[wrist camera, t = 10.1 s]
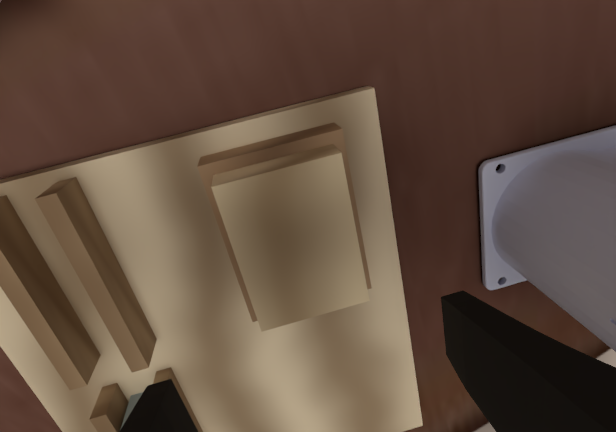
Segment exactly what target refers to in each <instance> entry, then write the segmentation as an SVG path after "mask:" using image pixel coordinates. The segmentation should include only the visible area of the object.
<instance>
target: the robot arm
mask: <svg viewBox="0 0 616 432" xmlns="http://www.w3.org/2000/svg"><path fill="white" fill-rule="evenodd" d="M499 164H501V167H500V169H499V170H498V171H496V167H497V166H498V165H499ZM478 175H479V200H480V226H481V251H482V277H483V285H484V286H485V287H486V288H487V289H488V290H495V289H499V288H502V287H505V286H509V285H512V284H516V283H519V282H523V281H526V280H528V281H529V282H531V283H532V284H533V285H534V286H535V287H537V288H538V289H539V290H540V291H542V292H543V293H544V294H545V295H547V296H548V297H549V298H550V299H551V300H553V301H554V302H555V303H556V304H558V305H559V306H560V307H561V308H563V309H564V310H565V311H566V312H567V313H569V314H570V315H571V316H572V317H574V318H575V319H576V320H577V321H579V322H580V323H581V324H582V325H583V326H585V327H586V328H587V329H588V330H590V331H591V332H592V333H593V334H595V335H596V336H597V337H598V338H599V339H601V340H602V341H603V342H604V343H606V344H607V345H608V346H609V347H611V348H612V349H613V350H614V351H616V125H615V126H611V127H607V128H604V129H600V130H596V131H593V132H589V133H585V134H582V135H578V136H574V137H571V138H567V139H563V140H559V141H556V142H552V143H548V144H545V145H541V146H537V147H534V148H530V149H526V150H523V151H519V152H515V153H512V154H508V155H504V156H500V157H497V158H493V159H489V160H486V161H484V162H483V163H482V164H481V165H480V167H479V171H478ZM500 278H502V279H501V280H499V279H500ZM498 280H499V281H498ZM441 301H442V312H443V323H444V334H445V345H446V355H447V356H448V358H449V360H450V362H451V364H452V366H453V367H454V369H455V371H456V373H457V375H458V376H459V378H460V380H461V382H462V383H463V385H464V387H465V388H466V390H467V392H468V393H469V394H470V396H471V397H472V399H473V400H474V401H475V403H476V404H477V406H478V407H479V408H480V410H481V411H482V413H483V414H484V415H485V417H486V418H487V420H488V421H489V422H490V424H491V425H492V426H493V428H494V429H495V431H496V432H616V368H615V367H613V366H611V365H609V364H606V363H604V362H601V361H599V360H597V359H595V358H592V357H590V356H588V355H586V354H584V353H582V352H579V351H577V350H575V349H573V348H571V347H569V346H566V345H564V344H562V343H560V342H558V341H556V340H554V339H552V338H550V337H548V336H546V335H544V334H542V333H540V332H538V331H536V330H534V329H532V328H530V327H529V326H527V325H525V324H523V323H521V322H519V321H517V320H515V319H514V318H512V317H510V316H508V315H506V314H504V313H503V312H501V311H499V310H497V309H495V308H494V307H492V306H490V305H488V304H486V303H485V302H483V301H481V300H479V299H477V298H476V297H474V296H472V295H470V294H468V293H467V292H465V291H460V292H456V293H453V294H450V295H446V296H443V297H441ZM119 432H198V430H197V428H196V426H195V424H194V422H193V420H192V418H191V416H190V414H189V412H188V410H187V408H186V407H185V405H184V403H183V401H182V399H181V397H180V395H179V393H178V391H177V389H176V387H175V385H174V383H173V381H172V379H168V380H165V381H161V382H158V383H155V384H151V385H148V386H147V387H146V389H145V390H144V392H143V393H142V395H141V397H140V398H139V400H138V401H137V403H136V405H135V406H134V408H133V410H132V411H131V413H130V415H129V416H128V418H127V420H126V421H125V423H124V425H123V426H122V428H121V430H120V431H119Z"/></svg>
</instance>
